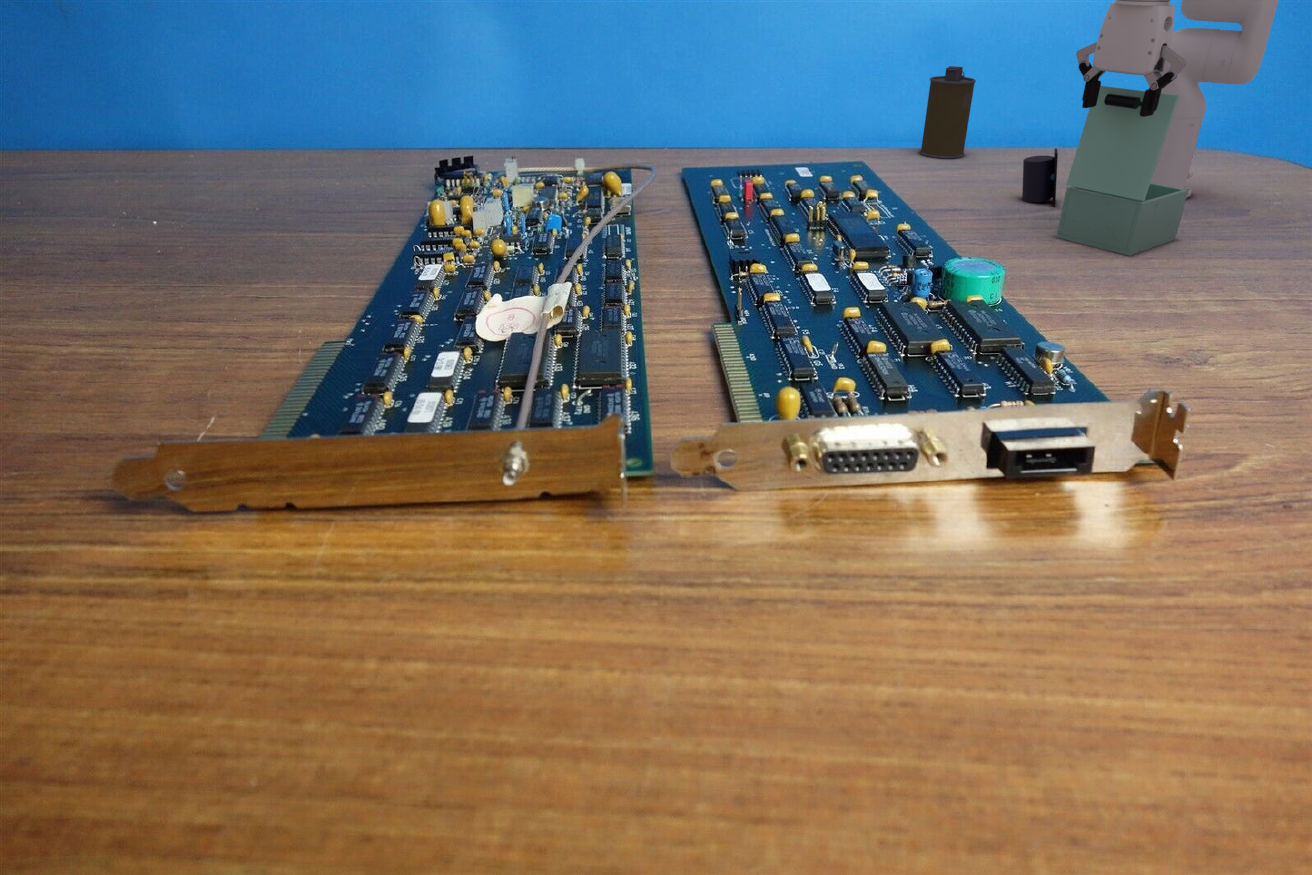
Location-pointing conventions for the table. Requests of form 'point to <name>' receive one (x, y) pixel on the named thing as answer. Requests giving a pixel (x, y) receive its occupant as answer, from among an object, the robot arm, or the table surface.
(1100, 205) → the cool box
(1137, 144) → the cool box lid
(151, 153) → the table surface
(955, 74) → the canister
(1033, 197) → the speaker
